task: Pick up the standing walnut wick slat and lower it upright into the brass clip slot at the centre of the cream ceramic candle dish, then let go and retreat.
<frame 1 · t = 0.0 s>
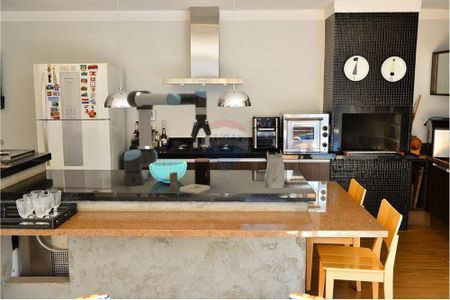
hand: (201, 146, 291), 28 cm above the worktop, fingers open, 13 cm apart
coffee jar: (202, 185, 302), on the worktop
candle dish: (194, 190, 286), on the worktop
grocery bag: (274, 183, 309), on the worktop
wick: (173, 191, 285), on the worktop
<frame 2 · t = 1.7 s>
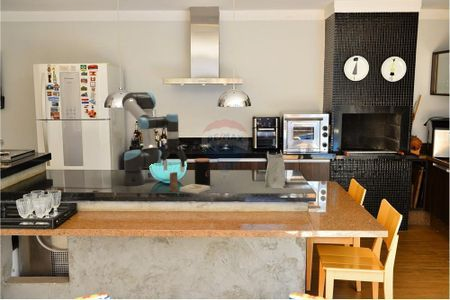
hand: (173, 171, 283), 13 cm above the worktop, fingers open, 13 cm apart
nothing on the worktop moved.
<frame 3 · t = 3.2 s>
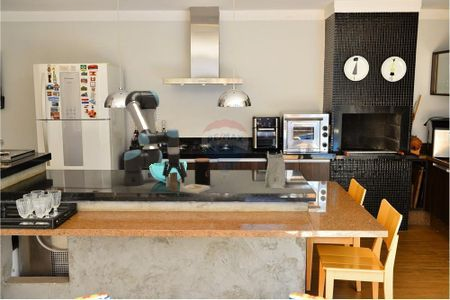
hand: (175, 187, 284), 3 cm above the worktop, fingers open, 11 cm apart
nothing on the worktop moved.
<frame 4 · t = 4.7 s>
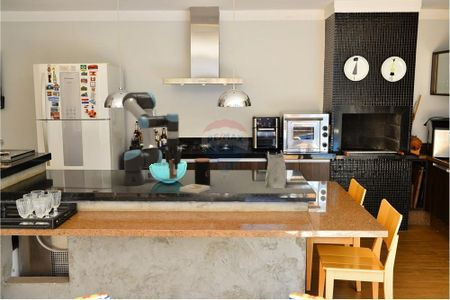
hand: (173, 173, 284), 11 cm above the worktop, fingers closed on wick, 3 cm apart
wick: (173, 178, 285), point 8 cm above the worktop, touching gripper
everything else where it was.
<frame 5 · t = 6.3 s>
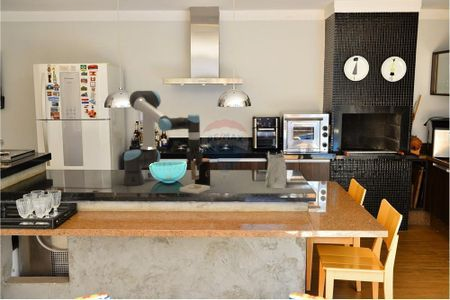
hand: (195, 174, 285), 10 cm above the worktop, fingers closed on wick, 3 cm apart
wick: (195, 179, 285), point 8 cm above the worktop, touching gripper
everything else where it was.
when the fingers open (3 cm above the worktop, at t = 8.0 s): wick stays where it is, resting on candle dish.
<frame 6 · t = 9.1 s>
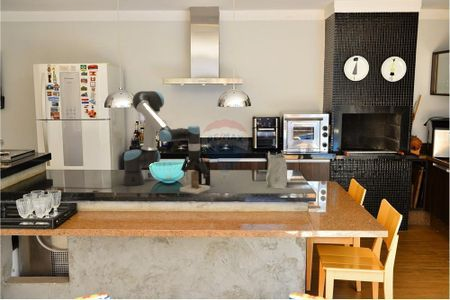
hand: (194, 182, 286), 5 cm above the worktop, fingers open, 13 cm apart
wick: (195, 189, 286), point 1 cm above the worktop, touching candle dish
everything else where it was.
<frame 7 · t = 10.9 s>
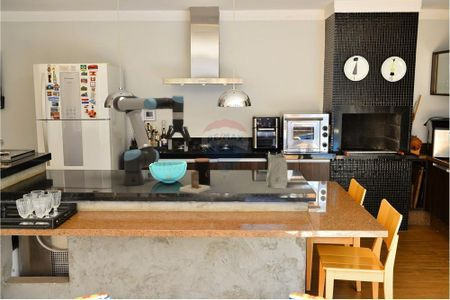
hand: (177, 150, 296), 25 cm above the worktop, fingers open, 13 cm apart
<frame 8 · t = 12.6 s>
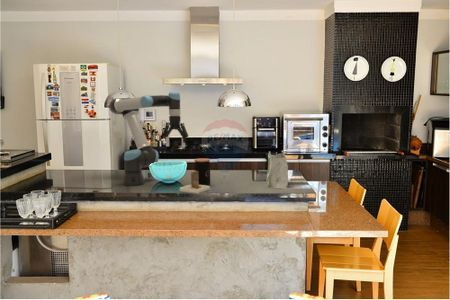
hand: (175, 147, 298), 27 cm above the worktop, fingers open, 13 cm apart
at the end: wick 0.1 cm off-centre on the candle dish, point 0.6 cm above the candle dish's base; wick tilted 0°; the gripper is holding nothing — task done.
